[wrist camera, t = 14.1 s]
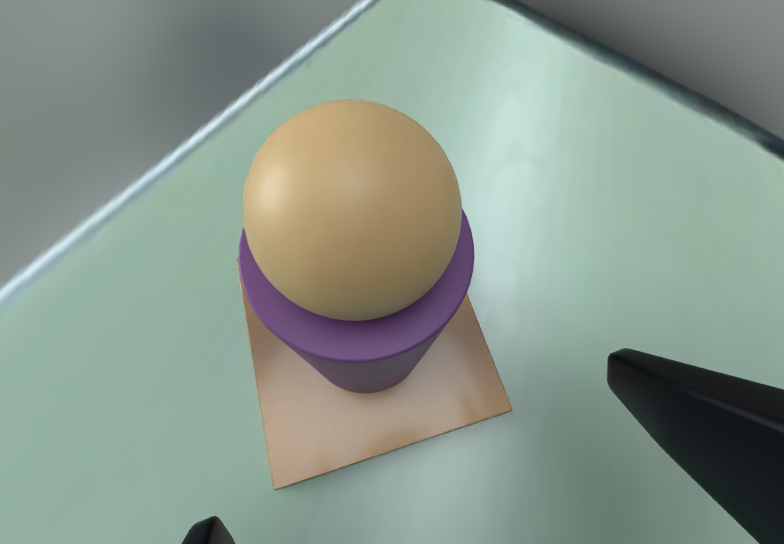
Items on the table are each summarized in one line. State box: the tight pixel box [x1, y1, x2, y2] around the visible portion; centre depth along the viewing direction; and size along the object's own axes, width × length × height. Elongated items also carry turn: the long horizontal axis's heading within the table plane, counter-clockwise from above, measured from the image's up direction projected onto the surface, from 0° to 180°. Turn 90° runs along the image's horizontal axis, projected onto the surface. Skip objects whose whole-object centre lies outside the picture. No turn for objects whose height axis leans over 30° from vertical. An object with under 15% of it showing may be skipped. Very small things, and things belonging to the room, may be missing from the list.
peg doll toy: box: [238, 100, 474, 393], centre depth 11 cm, size 5×5×12 cm
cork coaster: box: [236, 259, 512, 490], centre depth 17 cm, size 10×10×1 cm
